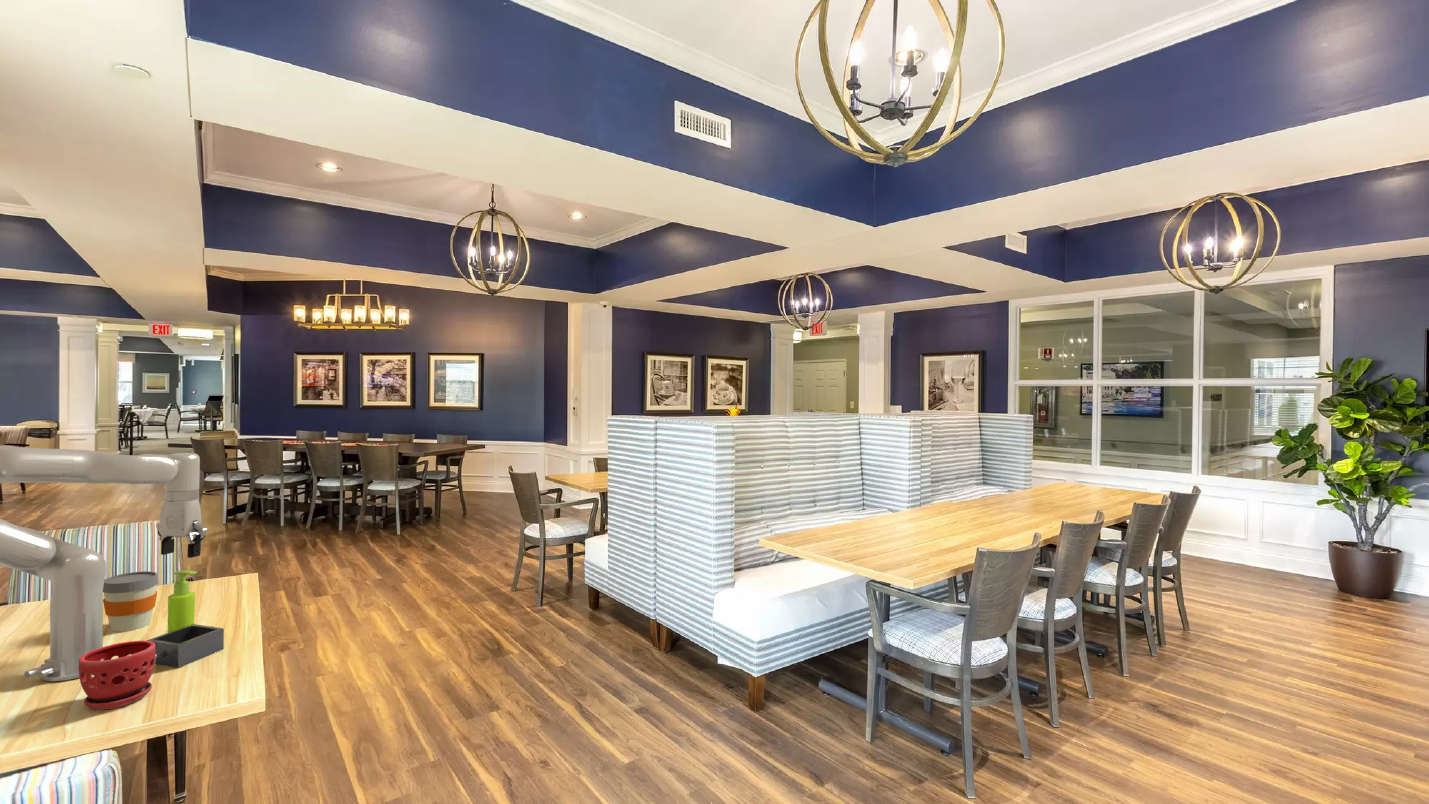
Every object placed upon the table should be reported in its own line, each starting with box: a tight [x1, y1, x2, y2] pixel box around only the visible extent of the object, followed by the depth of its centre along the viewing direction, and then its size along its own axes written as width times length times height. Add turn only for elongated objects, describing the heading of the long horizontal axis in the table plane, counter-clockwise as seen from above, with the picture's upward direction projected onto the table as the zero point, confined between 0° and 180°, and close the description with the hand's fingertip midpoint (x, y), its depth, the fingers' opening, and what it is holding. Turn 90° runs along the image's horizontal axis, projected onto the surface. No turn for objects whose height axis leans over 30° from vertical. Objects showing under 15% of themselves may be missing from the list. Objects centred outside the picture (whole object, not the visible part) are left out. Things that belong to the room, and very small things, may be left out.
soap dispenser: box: [167, 569, 198, 633], centre depth 181 cm, size 6×7×20 cm
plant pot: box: [79, 640, 156, 710], centre depth 147 cm, size 13×13×12 cm
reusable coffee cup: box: [103, 570, 159, 633], centre depth 189 cm, size 13×13×15 cm
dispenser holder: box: [145, 623, 225, 669], centre depth 168 cm, size 17×11×6 cm, turn 167°
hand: (180, 555), depth 180 cm, fingers open, 9 cm apart
